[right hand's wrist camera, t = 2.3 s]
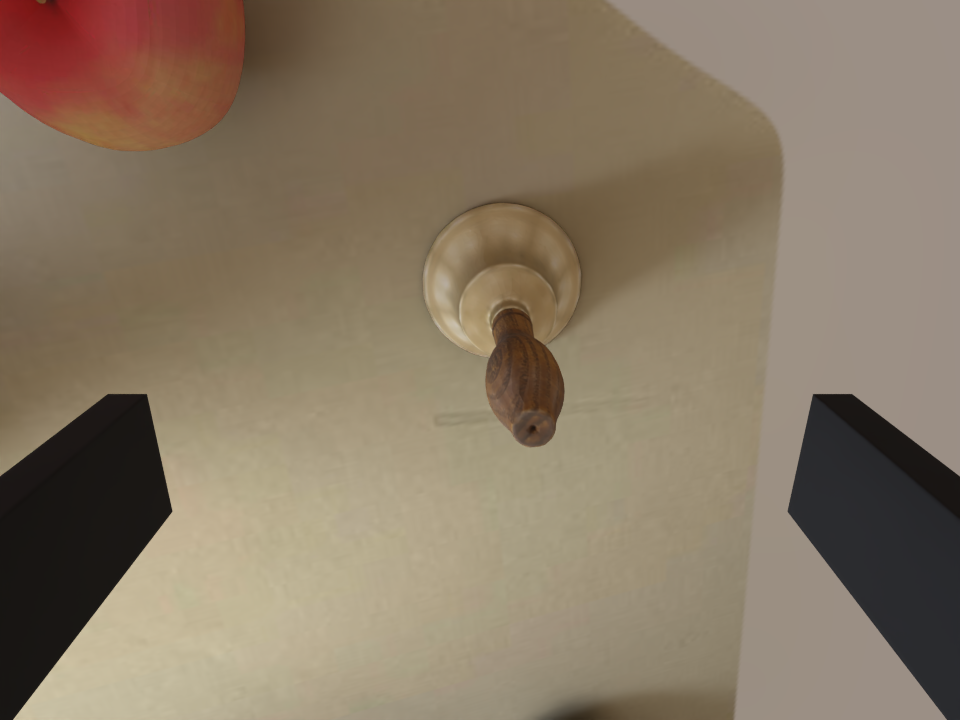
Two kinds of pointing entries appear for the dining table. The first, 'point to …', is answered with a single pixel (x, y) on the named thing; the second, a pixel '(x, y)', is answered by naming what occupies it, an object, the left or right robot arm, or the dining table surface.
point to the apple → (123, 67)
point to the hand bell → (507, 307)
